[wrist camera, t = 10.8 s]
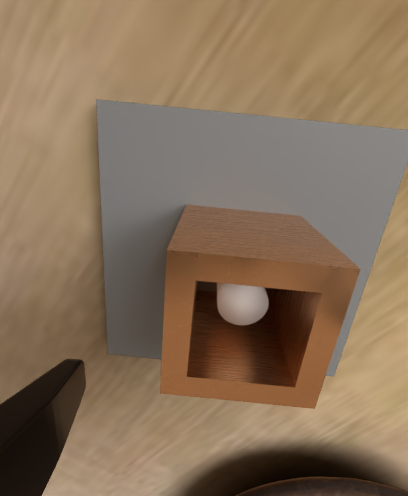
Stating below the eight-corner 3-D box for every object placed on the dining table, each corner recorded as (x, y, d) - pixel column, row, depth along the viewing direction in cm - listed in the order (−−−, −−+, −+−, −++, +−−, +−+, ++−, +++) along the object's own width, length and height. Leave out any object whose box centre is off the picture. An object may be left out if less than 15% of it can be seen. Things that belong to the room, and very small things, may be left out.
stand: (401, 131, 13) (509, 127, 8) (326, 361, 18) (366, 442, 13) (106, 102, 13) (43, 81, 8) (114, 340, 18) (78, 413, 13)
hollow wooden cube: (300, 215, 14) (360, 268, 8) (279, 312, 16) (314, 408, 10) (186, 204, 14) (166, 249, 8) (179, 302, 16) (159, 393, 10)
